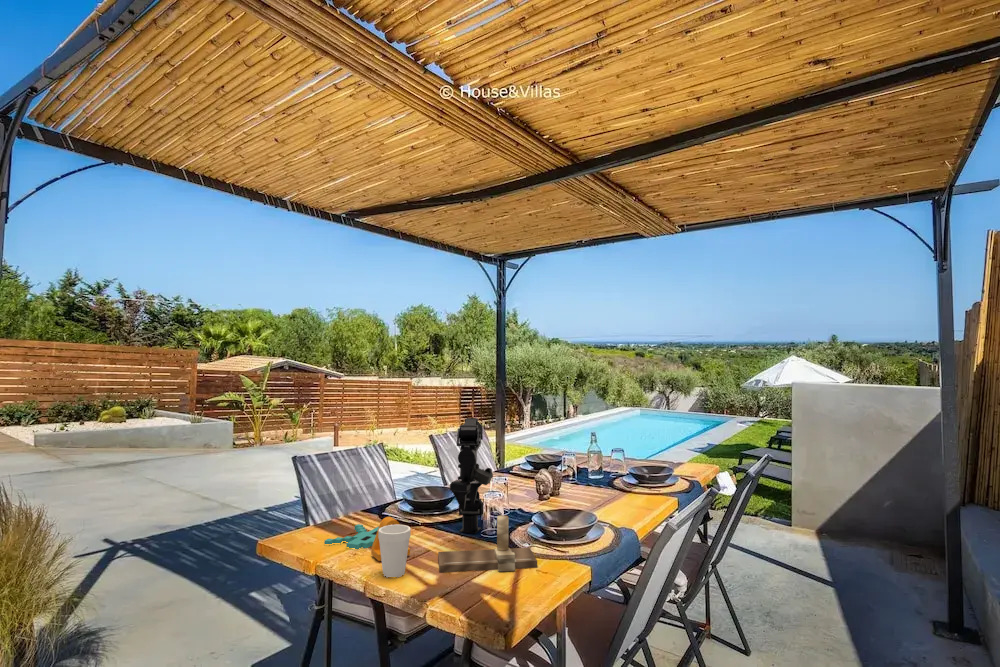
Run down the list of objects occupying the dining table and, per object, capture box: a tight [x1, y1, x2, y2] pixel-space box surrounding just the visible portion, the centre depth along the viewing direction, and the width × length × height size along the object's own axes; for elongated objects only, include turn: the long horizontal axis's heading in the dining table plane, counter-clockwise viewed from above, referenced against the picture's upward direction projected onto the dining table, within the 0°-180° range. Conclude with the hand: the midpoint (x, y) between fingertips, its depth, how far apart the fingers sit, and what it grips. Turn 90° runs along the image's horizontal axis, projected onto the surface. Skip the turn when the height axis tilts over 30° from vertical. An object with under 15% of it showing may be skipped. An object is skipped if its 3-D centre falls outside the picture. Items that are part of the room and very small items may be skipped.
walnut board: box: [437, 547, 538, 573], centre depth 167 cm, size 30×12×2 cm, turn 98°
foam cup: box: [378, 524, 412, 578], centre depth 159 cm, size 10×9×13 cm
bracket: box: [370, 516, 411, 562], centre depth 172 cm, size 11×7×12 cm, turn 122°
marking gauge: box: [494, 514, 516, 572], centre depth 165 cm, size 5×10×14 cm, turn 8°
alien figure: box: [324, 523, 379, 550], centre depth 189 cm, size 20×2×20 cm
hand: (467, 506), depth 185 cm, fingers open, 9 cm apart
